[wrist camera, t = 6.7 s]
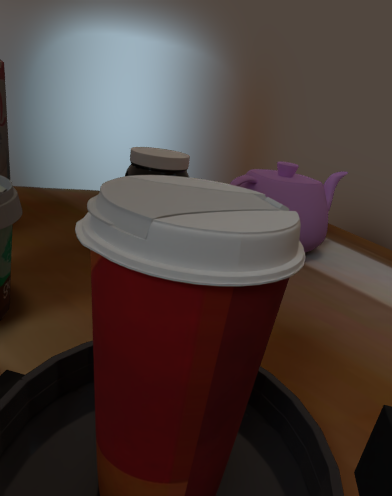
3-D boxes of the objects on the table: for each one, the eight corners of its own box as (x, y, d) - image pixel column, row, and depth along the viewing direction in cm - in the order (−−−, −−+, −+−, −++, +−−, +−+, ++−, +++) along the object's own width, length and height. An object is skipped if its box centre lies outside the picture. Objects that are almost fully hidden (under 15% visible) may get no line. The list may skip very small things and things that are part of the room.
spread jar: (191, 261, 42) (206, 163, 38) (93, 262, 38) (97, 153, 34) (166, 227, 53) (175, 146, 48) (86, 225, 49) (89, 137, 45)
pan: (-170, 651, 11) (-195, 597, 10) (84, 346, 26) (85, 310, 25) (366, 884, 9) (410, 848, 8) (308, 404, 24) (320, 368, 22)
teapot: (242, 265, 43) (262, 169, 39) (197, 228, 54) (209, 149, 50) (358, 257, 52) (385, 178, 48) (299, 226, 63) (316, 159, 59)
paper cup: (205, 405, 22) (250, 179, 17) (266, 545, 15) (371, 240, 10) (70, 426, 19) (74, 164, 14) (71, 607, 12) (79, 234, 7)
